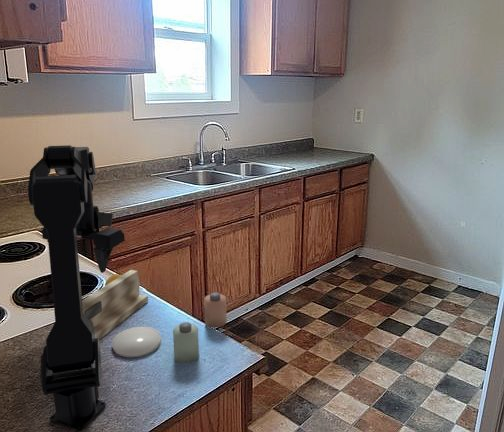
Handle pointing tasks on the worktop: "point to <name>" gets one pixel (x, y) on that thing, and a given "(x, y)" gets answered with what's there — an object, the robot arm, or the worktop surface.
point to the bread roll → (116, 278)
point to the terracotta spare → (215, 310)
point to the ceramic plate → (136, 342)
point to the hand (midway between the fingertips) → (86, 269)
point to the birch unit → (113, 303)
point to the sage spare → (186, 342)
